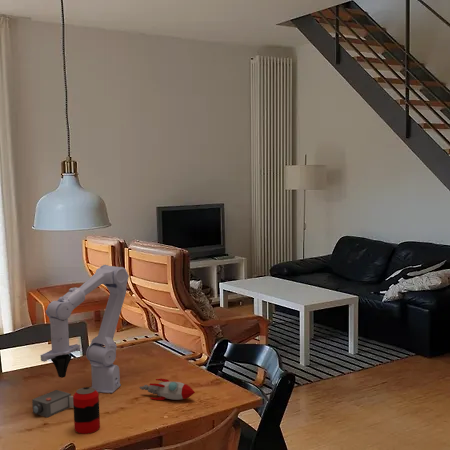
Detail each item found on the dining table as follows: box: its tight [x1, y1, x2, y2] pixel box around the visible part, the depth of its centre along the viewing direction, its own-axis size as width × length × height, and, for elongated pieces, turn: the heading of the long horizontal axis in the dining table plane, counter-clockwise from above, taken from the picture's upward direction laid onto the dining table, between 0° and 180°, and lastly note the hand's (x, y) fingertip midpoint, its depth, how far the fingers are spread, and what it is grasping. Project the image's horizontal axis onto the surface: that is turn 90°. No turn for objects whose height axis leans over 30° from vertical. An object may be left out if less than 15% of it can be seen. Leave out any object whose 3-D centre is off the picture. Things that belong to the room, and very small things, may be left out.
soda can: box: [72, 386, 101, 435], centre depth 188 cm, size 8×8×12 cm
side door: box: [68, 395, 74, 409], centre depth 204 cm, size 2×8×4 cm, turn 77°
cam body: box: [31, 389, 72, 418], centre depth 203 cm, size 7×12×5 cm, turn 146°
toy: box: [139, 378, 196, 401], centre depth 212 cm, size 21×7×7 cm
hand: (61, 376), depth 208 cm, fingers closed
